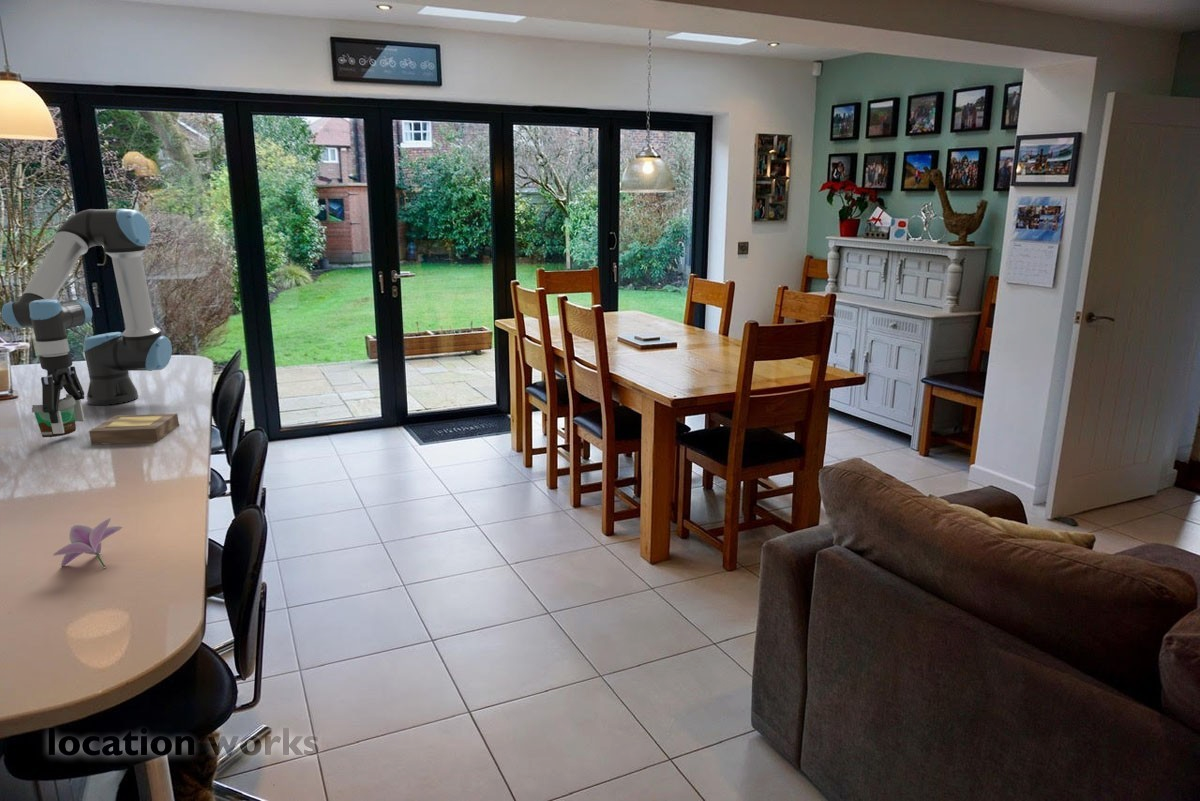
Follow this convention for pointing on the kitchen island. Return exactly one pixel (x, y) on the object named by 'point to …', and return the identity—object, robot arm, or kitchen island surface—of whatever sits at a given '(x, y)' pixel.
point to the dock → (134, 428)
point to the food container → (66, 413)
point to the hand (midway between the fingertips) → (69, 427)
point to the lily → (86, 541)
